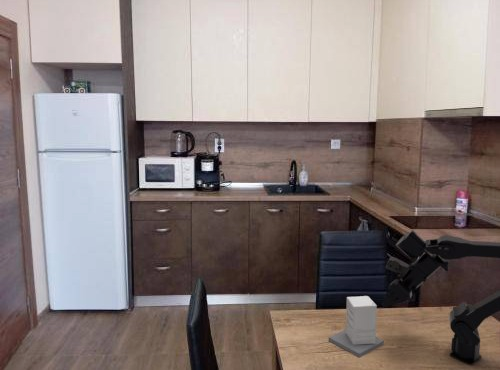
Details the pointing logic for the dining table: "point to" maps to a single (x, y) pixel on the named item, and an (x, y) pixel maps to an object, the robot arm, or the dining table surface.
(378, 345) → the tile
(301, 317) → the dining table surface
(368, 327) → the supplement box
